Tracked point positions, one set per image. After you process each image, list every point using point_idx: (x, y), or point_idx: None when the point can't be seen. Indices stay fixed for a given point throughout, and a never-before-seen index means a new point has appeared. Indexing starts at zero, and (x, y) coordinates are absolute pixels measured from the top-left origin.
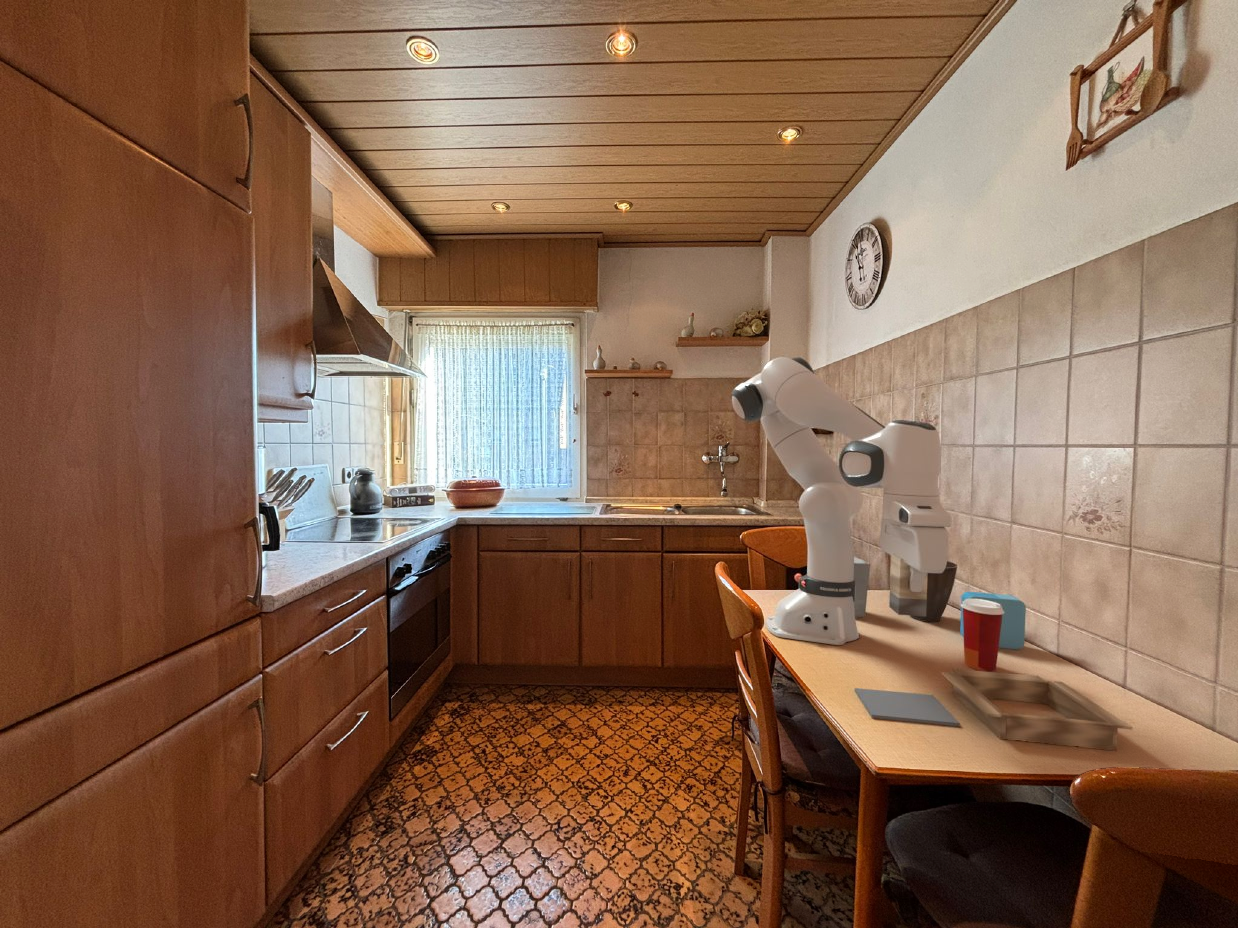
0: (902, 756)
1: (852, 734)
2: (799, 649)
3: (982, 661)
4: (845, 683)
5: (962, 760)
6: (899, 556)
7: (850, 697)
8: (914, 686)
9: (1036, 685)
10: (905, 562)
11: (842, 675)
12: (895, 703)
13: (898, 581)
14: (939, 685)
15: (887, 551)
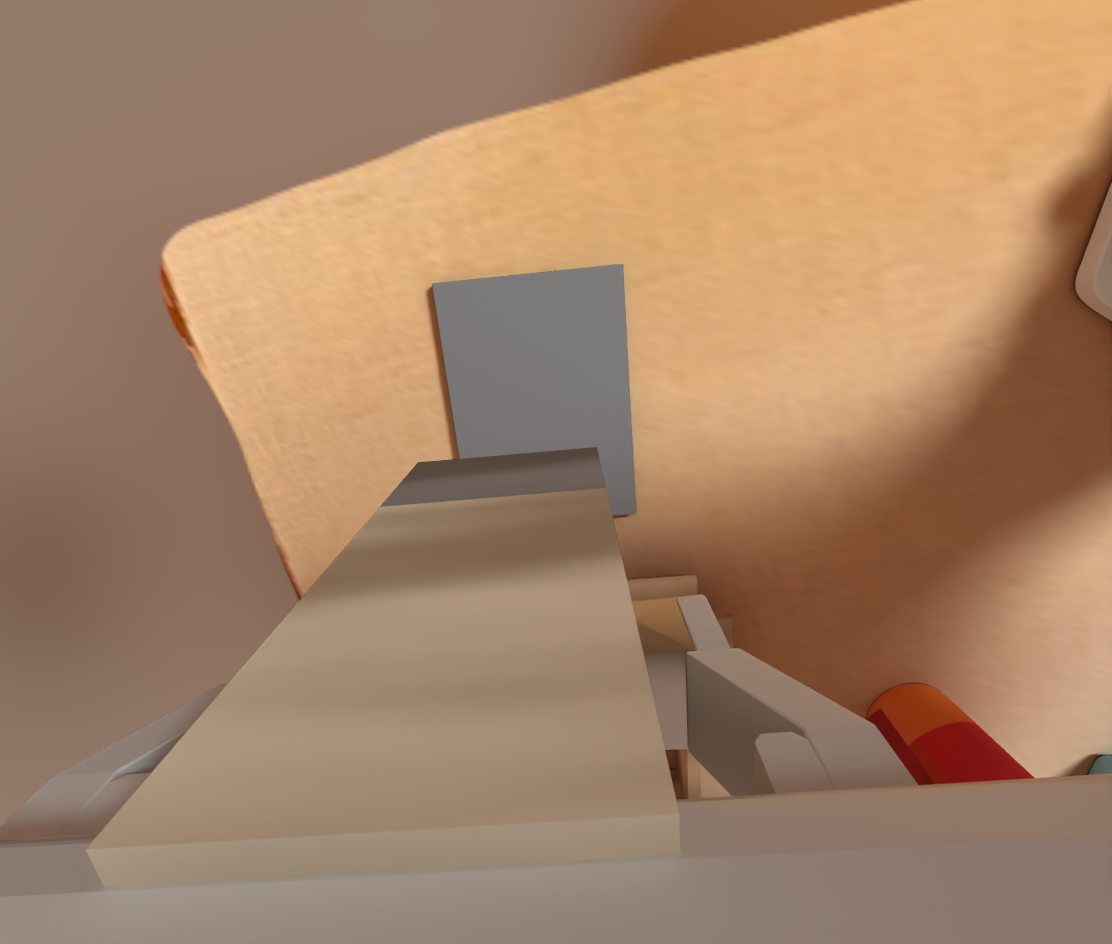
0: (240, 321)
1: (301, 194)
2: (1022, 74)
3: (884, 730)
4: (680, 241)
5: (291, 470)
6: (290, 888)
7: (565, 238)
8: (709, 480)
9: (686, 788)
10: (38, 847)
11: (752, 242)
12: (538, 381)
13: (356, 574)
14: (734, 556)
15: (1072, 811)
